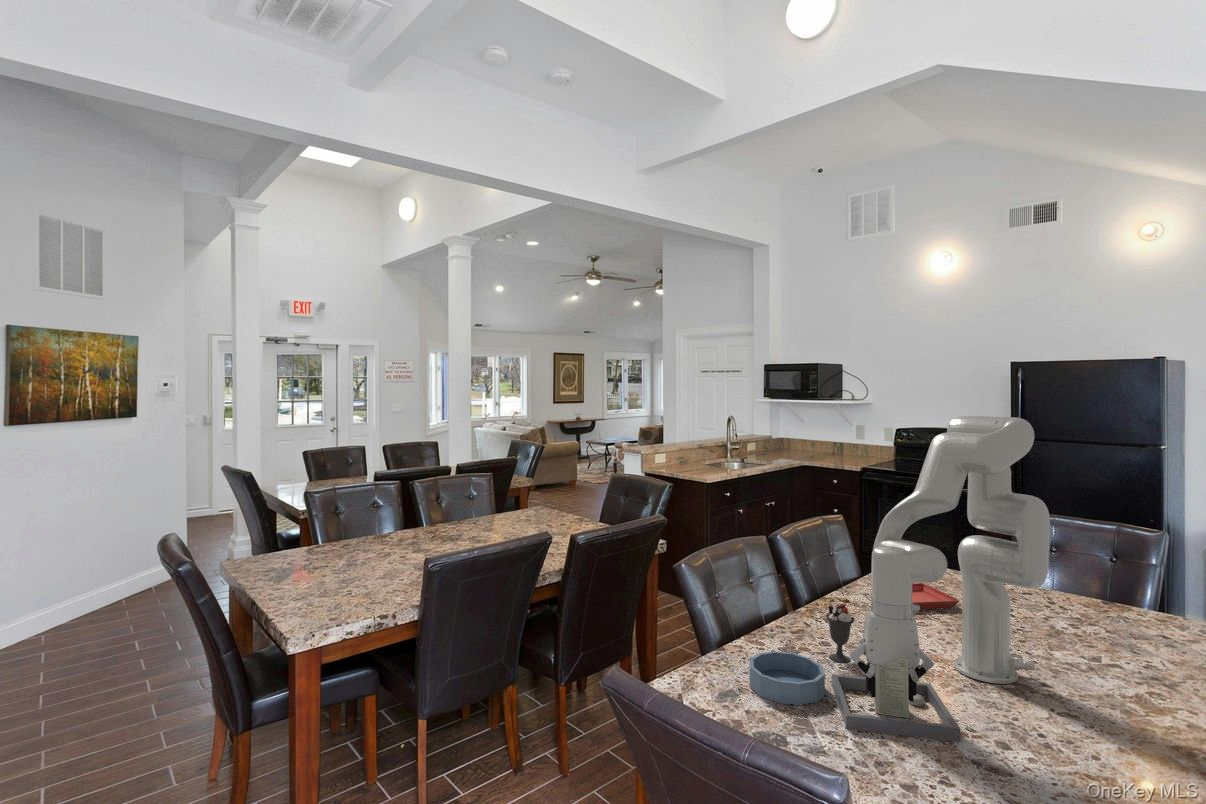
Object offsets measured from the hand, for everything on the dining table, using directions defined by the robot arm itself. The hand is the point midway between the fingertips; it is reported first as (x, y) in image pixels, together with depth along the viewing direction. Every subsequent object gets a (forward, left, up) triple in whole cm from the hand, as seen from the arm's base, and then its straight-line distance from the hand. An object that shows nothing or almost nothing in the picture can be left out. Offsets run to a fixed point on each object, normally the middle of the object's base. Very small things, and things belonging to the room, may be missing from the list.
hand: (890, 695), depth 124 cm
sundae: (+6, -24, -3) cm, 25 cm away
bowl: (+20, -6, -3) cm, 21 cm away
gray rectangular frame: (0, 0, -3) cm, 3 cm away
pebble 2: (-6, -5, -3) cm, 9 cm away
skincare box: (0, 0, -3) cm, 3 cm away
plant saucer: (-24, -74, -4) cm, 78 cm away
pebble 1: (+6, +5, -3) cm, 9 cm away
